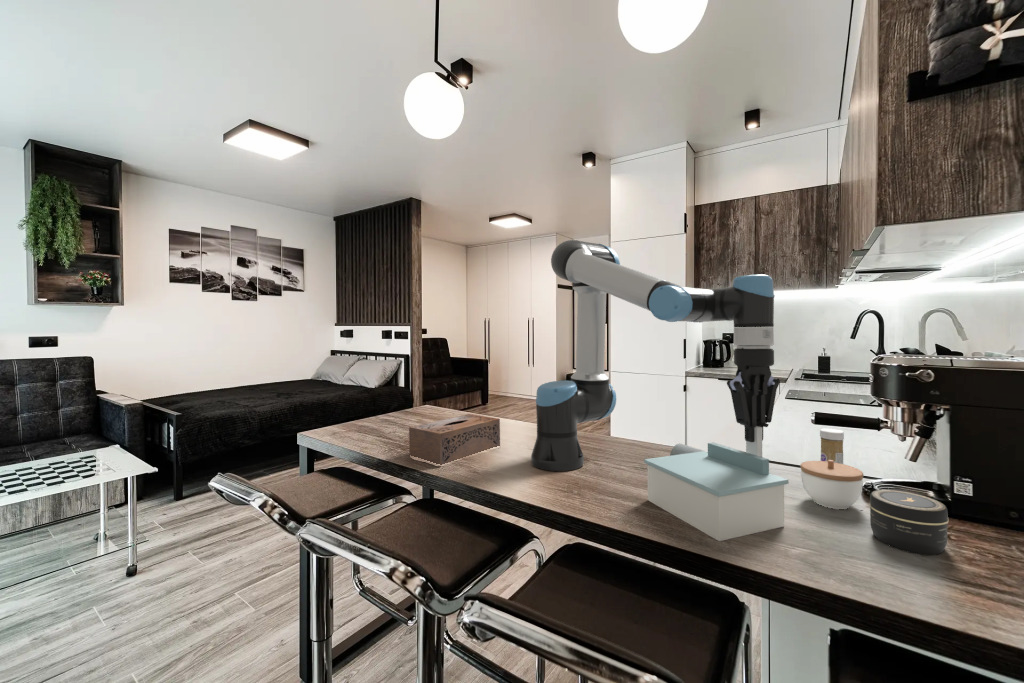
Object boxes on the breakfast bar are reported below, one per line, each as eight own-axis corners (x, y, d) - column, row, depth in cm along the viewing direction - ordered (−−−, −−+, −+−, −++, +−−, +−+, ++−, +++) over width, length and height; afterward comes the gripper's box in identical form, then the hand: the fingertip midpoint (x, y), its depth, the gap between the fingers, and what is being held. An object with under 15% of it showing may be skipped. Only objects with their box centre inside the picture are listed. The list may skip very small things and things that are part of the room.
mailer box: (647, 500, 94) (647, 464, 93) (704, 490, 99) (704, 456, 99) (719, 541, 75) (718, 496, 75) (784, 526, 80) (784, 484, 80)
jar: (945, 540, 74) (945, 497, 74) (951, 564, 66) (951, 516, 66) (870, 524, 80) (870, 484, 80) (868, 544, 73) (868, 500, 73)
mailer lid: (644, 462, 94) (643, 446, 94) (704, 454, 99) (703, 438, 99) (718, 496, 74) (718, 475, 74) (788, 483, 80) (788, 463, 79)
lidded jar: (821, 491, 97) (821, 451, 97) (875, 509, 87) (875, 464, 87) (789, 498, 93) (789, 456, 93) (842, 518, 83) (842, 471, 83)
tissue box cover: (469, 441, 148) (469, 413, 148) (500, 448, 139) (499, 418, 139) (409, 459, 129) (409, 427, 128) (440, 468, 119) (440, 433, 119)
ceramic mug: (698, 482, 104) (699, 451, 104) (668, 474, 110) (668, 445, 110) (718, 474, 110) (719, 445, 110) (689, 466, 117) (689, 439, 117)
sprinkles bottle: (815, 483, 102) (815, 428, 102) (830, 481, 103) (829, 427, 103) (834, 490, 98) (833, 432, 97) (849, 488, 99) (848, 431, 98)
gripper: (745, 348, 85) (746, 464, 85) (791, 347, 89) (792, 457, 89) (716, 347, 92) (717, 454, 92) (760, 346, 96) (760, 448, 96)
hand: (754, 456), depth 91 cm, fingers closed
